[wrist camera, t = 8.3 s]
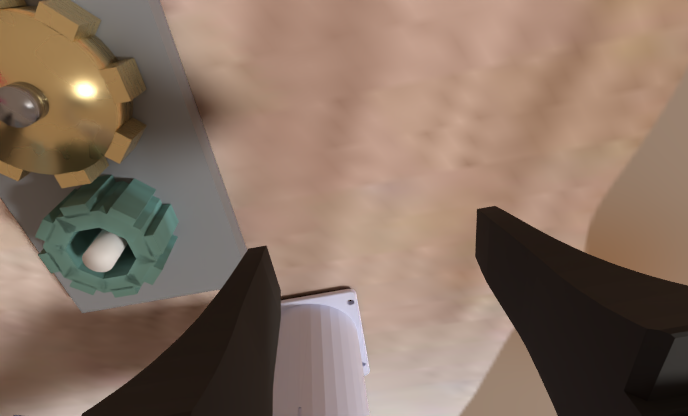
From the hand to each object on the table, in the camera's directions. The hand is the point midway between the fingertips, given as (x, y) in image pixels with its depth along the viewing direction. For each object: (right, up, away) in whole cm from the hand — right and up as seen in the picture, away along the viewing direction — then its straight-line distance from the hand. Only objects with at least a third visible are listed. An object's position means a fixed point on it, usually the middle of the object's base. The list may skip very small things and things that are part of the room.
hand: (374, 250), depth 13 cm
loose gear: (-13, +1, +9) cm, 16 cm away
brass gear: (-14, +7, +5) cm, 17 cm away
